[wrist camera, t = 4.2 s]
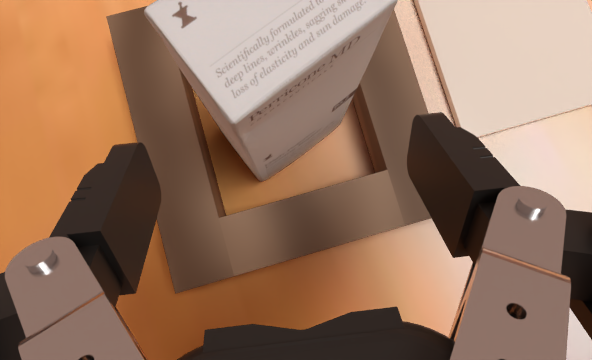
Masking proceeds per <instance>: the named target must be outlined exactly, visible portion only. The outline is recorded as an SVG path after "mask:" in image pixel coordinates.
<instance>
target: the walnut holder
mask: <svg viewBox="0 0 592 360" xmlns="http://www.w3.org/2000/svg"><path fill="white" fill-rule="evenodd" d="M146 7H147V6H146ZM146 7H142V8H138V9H134V10H130V11H126V12H122V13H118V14H114V15H110V16H107V21H108V25H109V29H110V33H111V37H112V41H113V45H114V49H115V53H116V57H117V61H118V65H119V69H120V73H121V77H122V81H123V85H124V89H125V93H126V97H127V101H128V105H129V109H130V113H131V117H132V121H133V125H134V129H135V133H136V137H137V141H138V142H141V143H143V144H144V145H145V147H146V149H147V152H148V154H149V157H150V160H151V162H152V165H153V168H154V170H155V173H156V176H157V178H158V181H159V184H160V188H161V205H160V208H159V212H158V215H157V222H158V226H159V230H160V234H161V238H162V242H163V246H164V250H165V254H166V258H167V262H168V266H169V270H170V274H171V278H172V282H173V286H174V290H175V294H176V293H179V292H182V291H186V290H189V289H193V288H196V287H199V286H203V285H206V284H209V283H213V282H216V281H220V280H223V279H226V278H230V277H233V276H237V275H240V274H243V273H247V272H250V271H254V270H257V269H260V268H264V267H267V266H270V265H274V264H277V263H281V262H284V261H287V260H291V259H294V258H298V257H301V256H304V255H308V254H311V253H315V252H318V251H321V250H325V249H328V248H331V247H335V246H338V245H342V244H345V243H348V242H352V241H355V240H359V239H362V238H365V237H369V236H372V235H375V234H379V233H382V232H386V231H389V230H392V229H396V228H399V227H403V226H406V225H409V224H413V223H416V222H420V221H423V220H426V219H430V218H431V216H430V214H429V212H428V210H427V209H426V207H425V205H424V203H423V201H422V199H421V197H420V196H419V194H418V192H417V190H416V188H415V186H414V185H413V183H412V181H411V179H410V177H409V174H408V170H407V154H408V147H409V141H410V134H411V128H412V122H413V119H414V117H415V116H416V115H420V114H428V111H427V108H426V105H425V102H424V99H423V96H422V93H421V90H420V87H419V84H418V81H417V78H416V75H415V72H414V69H413V65H412V62H411V59H410V56H409V53H408V50H407V47H406V44H405V41H404V38H403V35H402V32H401V29H400V26H399V23H398V20H397V17H396V14H395V11H394V10H393V12H392V14H391V16H390V18H389V20H388V22H387V24H386V26H385V28H384V31H383V33H382V35H381V37H380V39H379V42H378V44H377V47H376V49H375V51H374V53H373V55H372V57H371V60H370V62H369V64H368V66H367V68H366V70H365V73H364V74H363V76H362V79H361V81H360V83H359V85H358V88H357V90H356V92H355V94H354V96H353V98H352V100H353V103H354V106H355V109H356V113H357V116H358V119H359V122H360V125H361V129H362V132H363V135H364V138H365V141H366V145H367V148H368V151H369V154H370V157H371V161H372V164H373V167H374V170H375V173H374V174H371V175H367V176H364V177H360V178H357V179H353V180H350V181H346V182H343V183H339V184H336V185H332V186H329V187H325V188H322V189H318V190H315V191H311V192H308V193H304V194H301V195H297V196H294V197H290V198H287V199H283V200H280V201H276V202H273V203H270V204H266V205H263V206H259V207H256V208H252V209H249V210H245V211H242V212H238V213H235V214H231V215H228V216H226V213H225V210H224V206H223V202H222V198H221V195H220V191H219V187H218V183H217V180H216V176H215V172H214V168H213V165H212V161H211V157H210V154H209V150H208V146H207V142H206V139H205V135H204V131H203V127H202V124H201V120H200V116H199V112H198V109H197V105H196V101H195V98H194V94H193V90H192V86H191V85H190V83H189V82H188V80H187V79H186V77H185V76H184V74H183V73H182V71H181V70H180V68H179V66H178V65H177V63H176V62H175V60H174V58H173V57H172V55H171V54H170V52H169V50H168V48H167V47H166V45H165V43H164V42H163V40H162V38H161V37H160V35H159V34H158V33H157V31H156V30H155V29H154V27H153V26H152V25H151V23H150V22H149V21H148V19H147V18H146V16H145V14H144V10H145V9H146Z"/></svg>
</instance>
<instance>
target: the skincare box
mask: <svg viewBox="0 0 592 360" xmlns="http://www.w3.org/2000/svg"><path fill="white" fill-rule="evenodd" d="M396 3H397V0H157V1H155V2H154V3H152V4H150V5H149V6H147V7H146V9H145V10H144V14H145V16H146V18H147V19H148V21H149V22H150V23H151V25H152V26H153V27H154V29H155V30H156V31H157V33H158V34H159V35H160V37H161V38H162V40H163V42H164V43H165V45H166V47H167V48H168V50H169V52H170V54H171V55H172V57H173V58H174V60H175V62H176V63H177V65H178V66H179V68H180V70H181V71H182V73H183V74H184V76H185V77H186V79H187V80H188V82H189V83H190V85H191V86H192V88H193V89H194V91H195V92H196V94H197V95H198V97H199V98H200V100H201V101H202V103H203V104H204V106H205V107H206V109H207V110H208V111H209V113H210V114H211V116H212V117H213V119H214V120H215V122H216V123H217V125H218V126H219V128H220V130H221V132H222V133H223V134H224V136H225V137H226V138H227V140H228V141H229V142H230V144H231V145H232V146H233V148H234V149H235V150H236V152H237V153H238V154H239V156H240V157H241V158H242V160H243V161H244V162H245V164H246V165H247V166H248V167H249V169H250V170H251V171H252V172H253V174H254V175H255V176H256V177H257V179H258V180H259V181H261V182H262V181H265V180H267V179H269V178H270V177H272V176H273V175H275V174H276V173H278V172H279V171H281V170H282V169H284V168H285V167H287V166H288V165H289V164H291V163H292V162H294V161H295V160H296V159H298V158H299V157H300V156H302V155H303V154H304V153H306V152H307V151H308V150H310V149H311V148H312V147H313V146H315V145H316V144H317V143H319V142H320V141H321V140H322V139H324V138H325V137H326V136H327V135H329V134H330V133H331V132H332V131H333V130H334V129H336V128H337V127H338V126H339V125H340V124H341V121H342V119H343V117H344V115H345V113H346V111H347V109H348V107H349V104H350V102H351V100H352V98H353V96H354V94H355V92H356V90H357V88H358V85H359V83H360V81H361V79H362V76H363V74H364V73H365V70H366V68H367V66H368V64H369V62H370V60H371V57H372V55H373V53H374V51H375V49H376V47H377V44H378V42H379V39H380V37H381V35H382V33H383V31H384V28H385V26H386V24H387V22H388V20H389V18H390V16H391V14H392V12H393V10H394V8H395V5H396Z"/></svg>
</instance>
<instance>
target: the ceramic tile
mask: <svg viewBox="0 0 592 360" xmlns="http://www.w3.org/2000/svg"><path fill="white" fill-rule="evenodd" d="M414 3H415V6H416V9H417V12H418V15H419V18H420V21H421V24H422V27H423V29H424V32H425V35H426V38H427V41H428V44H429V47H430V50H431V53H432V56H433V59H434V62H435V65H436V68H437V71H438V74H439V77H440V80H441V83H442V86H443V89H444V91H445V94H446V97H447V100H448V103H449V106H450V109H451V112H452V115H453V118H454V121H455V124H456V127H461V128H463V129H465V130H467V131H468V132H470V133H472V134H474V135H475V136H476V137H477V138H478V137H481V136H485V135H488V134H492V133H495V132H499V131H502V130H506V129H509V128H513V127H516V126H520V125H523V124H527V123H530V122H534V121H537V120H541V119H544V118H548V117H551V116H555V115H558V114H562V113H565V112H569V111H572V110H576V109H579V108H583V107H586V106H590V105H592V12H591V10H590V7H589V4H588V2H587V0H414Z"/></svg>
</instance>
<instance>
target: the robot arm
mask: <svg viewBox="0 0 592 360" xmlns="http://www.w3.org/2000/svg"><path fill="white" fill-rule="evenodd" d="M407 170H408V174H409V177H410V179H411V181H412V183H413V185H414V186H415V188H416V190H417V192H418V194H419V196H420V197H421V199H422V201H423V203H424V205H425V207H426V209H427V210H428V212H429V214H430V216H431V218H432V220H433V222H434V223H435V225H436V227H437V229H438V231H439V233H440V235H441V236H442V238H443V240H444V242H445V244H446V246H447V247H448V249H449V251H450V253H451V255H452V257H453V258H455V257H464V256H470V258H471V260H472V261H473V263H472V266H471V269H470V272H469V275H468V278H467V281H466V284H465V288H464V291H463V294H462V297H461V300H460V303H459V307H458V310H457V313H456V316H455V319H454V322H453V325H452V328H451V331H450V334H449V337H446V336H445V335H443V334H441V333H439V332H437V331H434V330H432V329H430V328H427V327H424V326H421V325H418V324H414V323H410V322H403V321H402V319H401V316H400V313H399V311H398V308H397V307H390V308H382V309H374V310H365V311H357V312H350V313H347V314H345V315H342V316H340V317H337V318H335V319H332V320H329V321H327V322H324V323H322V324H319V325H316V326H314V327H311V328H309V329H305V330H296V329H288V328H280V327H272V326H264V325H256V324H249V325H241V326H233V327H225V328H216V329H208V330H205V335H204V344H203V346H201V347H199V348H196V349H194V350H192V351H190V352H188V353H187V354H185V355H183V356H182V357H180V358H179V359H177V360H566V350H567V336H568V322H569V307H570V308H571V310H572V311H573V313H574V314H575V316H576V317H577V319H578V320H579V322H580V323H581V325H582V326H583V328H584V329H585V330H586V332H587V333H588V335H589V336H590V338H591V339H592V213H591V212H582V211H573V210H566V209H565V208H564V207H563V205H562V204H561V203H560V202H559V201H558V200H557V199H556V198H554V197H553V196H551V195H550V194H548V193H546V192H544V191H541V190H538V189H535V188H531V187H525V186H520V185H519V184H518V183H517V182H516V180H515V179H514V178H513V177H512V176H511V175H510V174H509V173H508V171H507V170H506V169H505V168H504V167H503V166H502V165H501V164H500V163H499V161H498V160H497V159H496V158H495V157H493V155H492V154H491V152H490V151H489V150H488V149H487V148H485V146H484V145H483V143H482V142H481V141H480V140H479V139H478V138H477V137H476V136H475V135H474V134H472V133H470V132H468V131H467V130H465V129H463V128H461V127H456V128H455V127H454V125H453V124H452V123H451V122H450V121H449V119H448V118H447V117H446V116H445V115H444V114H443V113H441V112H440V113H430V114H420V115H416V116H415V117H414V119H413V122H412V128H411V134H410V141H409V147H408V154H407ZM160 205H161V188H160V184H159V181H158V178H157V176H156V173H155V170H154V168H153V165H152V162H151V160H150V157H149V154H148V152H147V149H146V147H145V145H144V144H143V143H141V142H138V143H129V144H119V145H114V146H113V147H112V149H111V151H110V152H109V154H108V156H107V158H106V160H105V162H104V163H100V164H97V165H96V166H95V167H94V168H92V169H91V170H90V171H89V172H88V173H87V174H86V175H84V177H83V179H82V180H81V182H80V184H79V186H78V187H77V191H75V193H74V195H73V196H72V198H71V202H69V203H68V205H67V207H66V209H65V210H64V212H63V214H62V216H61V217H60V219H59V221H58V223H57V225H56V226H55V228H54V230H53V232H52V233H51V235H50V237H49V238H46V239H43V240H40V241H38V242H35V243H33V244H31V245H29V246H28V247H26V248H25V249H23V250H22V251H21V252H19V253H18V254H17V255H16V256H15V257H14V258H13V259H12V260H11V262H10V263H9V264H8V266H7V268H6V271H5V272H4V273H1V274H0V360H148V359H147V357H146V356H145V354H144V352H143V351H142V349H141V347H140V346H139V344H138V343H137V341H136V339H135V338H134V336H133V334H132V333H131V331H130V329H129V328H128V326H127V325H126V323H125V321H124V320H123V318H122V316H121V315H120V313H119V312H118V310H117V308H116V307H115V306H116V303H117V300H118V297H119V295H127V294H135V293H136V291H137V287H138V283H139V280H140V276H141V273H142V269H143V265H144V262H145V258H146V255H147V251H148V248H149V244H150V240H151V237H152V233H153V230H154V226H155V222H156V219H157V215H158V212H159V208H160Z"/></svg>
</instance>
